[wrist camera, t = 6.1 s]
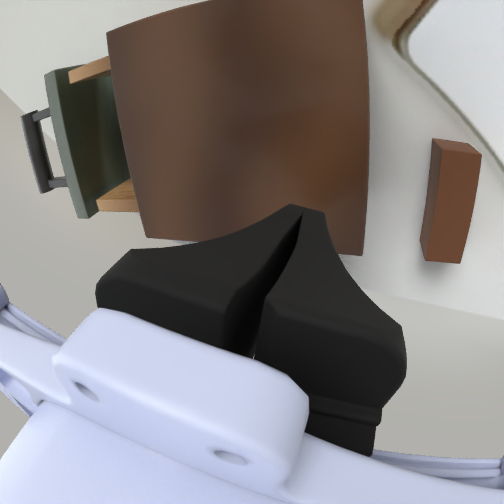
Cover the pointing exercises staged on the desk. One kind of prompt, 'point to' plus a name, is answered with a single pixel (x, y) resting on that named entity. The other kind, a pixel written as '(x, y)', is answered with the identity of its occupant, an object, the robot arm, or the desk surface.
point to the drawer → (83, 140)
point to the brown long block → (449, 200)
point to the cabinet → (245, 115)
